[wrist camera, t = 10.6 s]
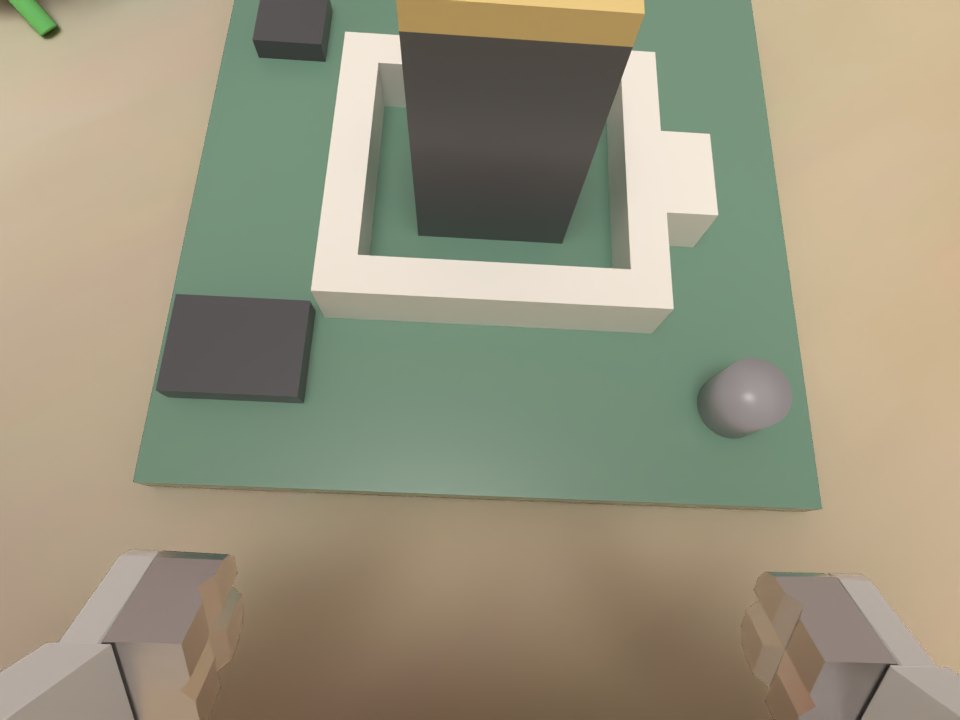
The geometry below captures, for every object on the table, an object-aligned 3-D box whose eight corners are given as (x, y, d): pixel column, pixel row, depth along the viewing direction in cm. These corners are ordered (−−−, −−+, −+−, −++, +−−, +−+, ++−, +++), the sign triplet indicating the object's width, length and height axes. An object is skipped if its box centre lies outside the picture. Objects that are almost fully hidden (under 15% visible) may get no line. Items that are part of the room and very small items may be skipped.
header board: (149, 485, 18) (93, 472, 15) (251, -18, 24) (225, -94, 22) (803, 511, 19) (866, 502, 16) (738, 16, 25) (775, -53, 22)
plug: (418, 235, 20) (395, -5, 12) (424, 154, 21) (408, -122, 13) (562, 243, 20) (645, 13, 12) (561, 162, 21) (637, -104, 13)
